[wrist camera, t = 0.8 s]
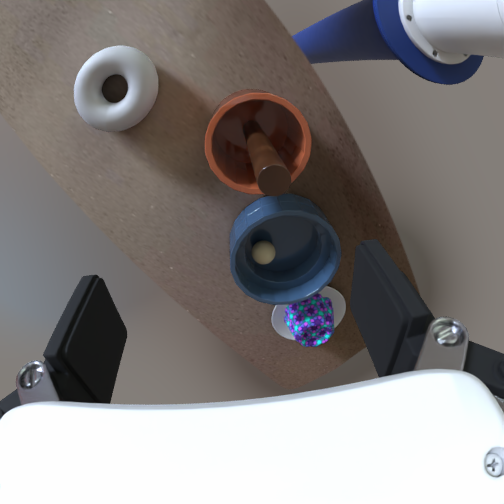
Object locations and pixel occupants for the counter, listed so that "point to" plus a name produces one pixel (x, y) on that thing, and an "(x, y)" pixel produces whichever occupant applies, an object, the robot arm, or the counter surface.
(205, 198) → the counter surface
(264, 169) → the stick
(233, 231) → the bowl
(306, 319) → the pudding
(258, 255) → the dough ball
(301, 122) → the crock
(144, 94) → the donut
